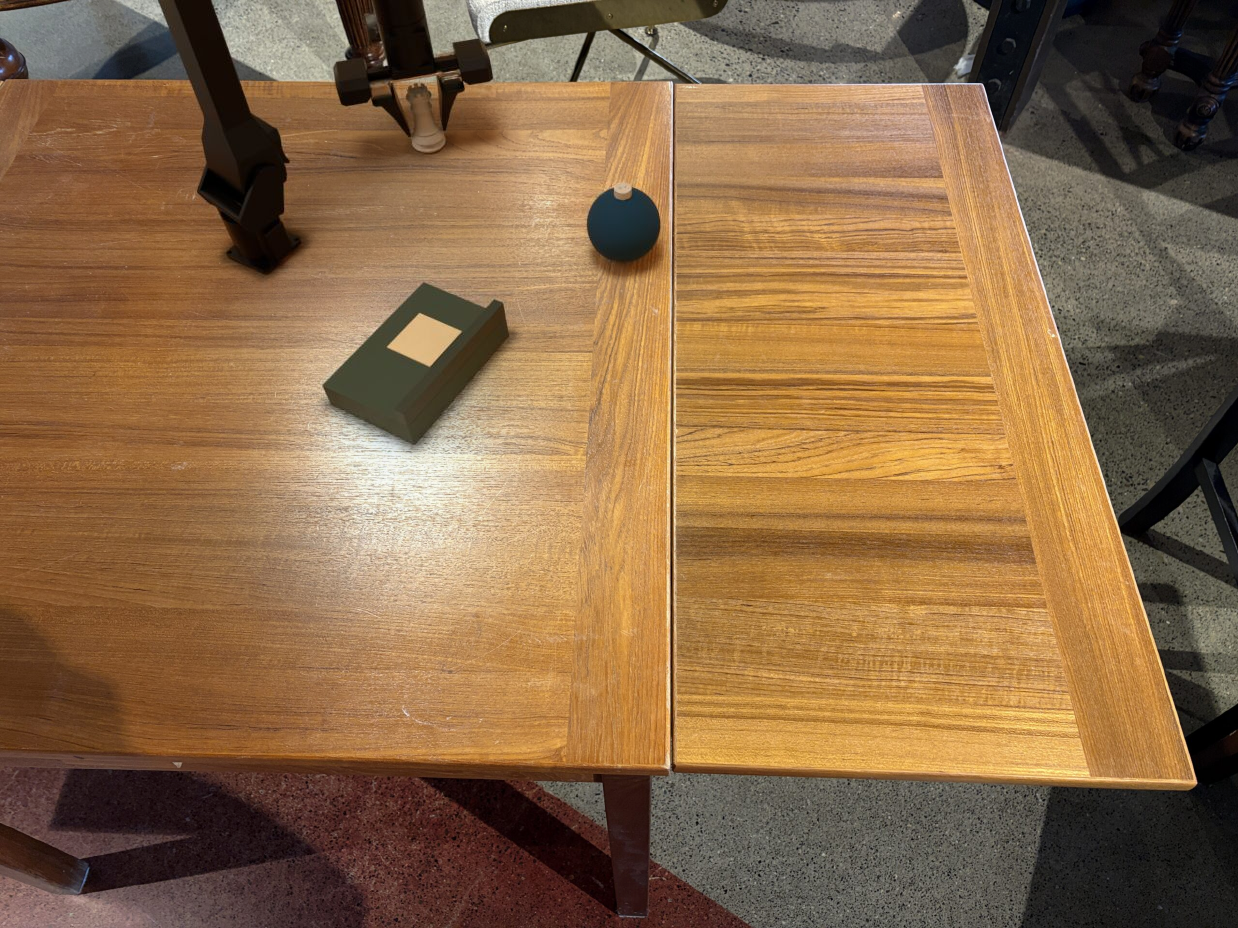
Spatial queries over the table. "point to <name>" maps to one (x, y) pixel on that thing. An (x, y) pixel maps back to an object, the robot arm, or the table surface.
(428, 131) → the rook chess piece
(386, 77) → the robot arm
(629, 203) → the christmas ornament
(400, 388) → the green platform
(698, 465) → the table surface
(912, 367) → the table surface
